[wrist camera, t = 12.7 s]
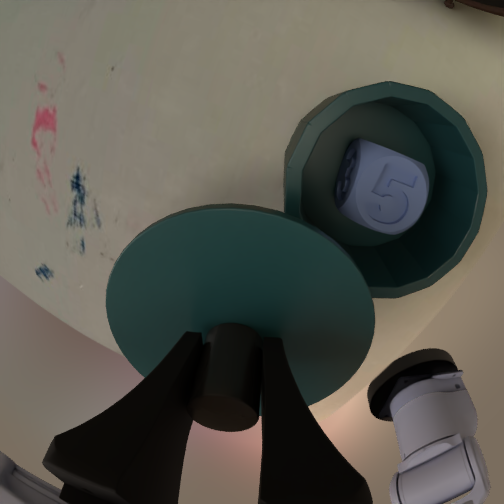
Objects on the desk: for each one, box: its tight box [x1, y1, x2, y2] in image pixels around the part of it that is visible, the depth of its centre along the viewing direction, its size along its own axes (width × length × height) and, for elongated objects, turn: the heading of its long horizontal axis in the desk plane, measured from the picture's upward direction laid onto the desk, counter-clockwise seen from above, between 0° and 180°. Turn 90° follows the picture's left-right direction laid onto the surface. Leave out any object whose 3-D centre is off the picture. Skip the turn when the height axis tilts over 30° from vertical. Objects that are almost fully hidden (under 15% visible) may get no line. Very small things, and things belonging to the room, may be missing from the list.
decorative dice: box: [335, 138, 429, 235], centre depth 15 cm, size 4×4×4 cm
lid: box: [106, 204, 375, 432], centre depth 11 cm, size 11×11×5 cm
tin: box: [283, 81, 487, 298], centre depth 14 cm, size 10×10×5 cm
